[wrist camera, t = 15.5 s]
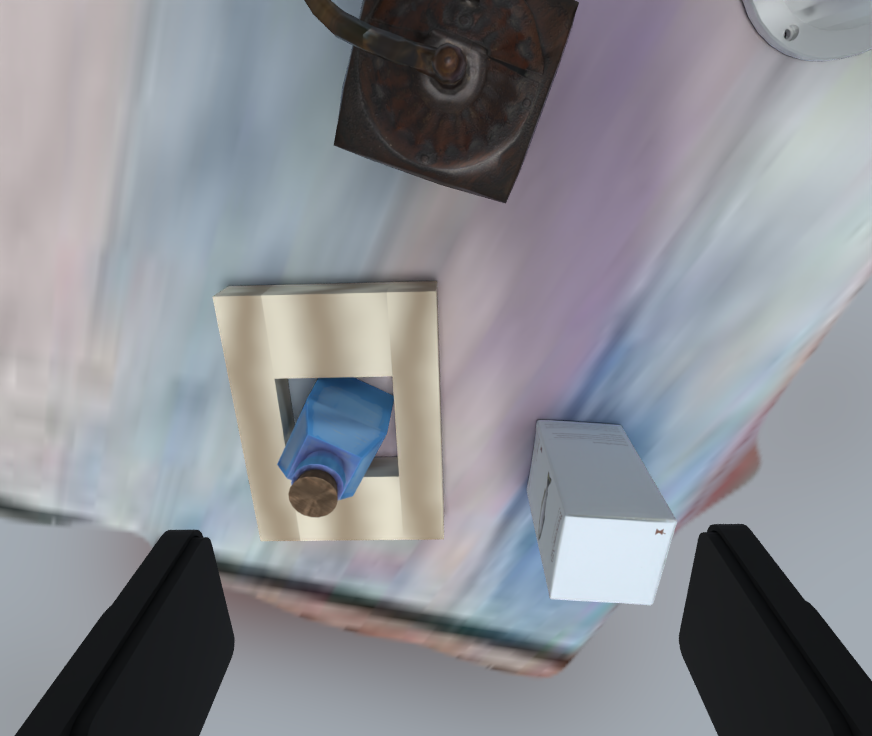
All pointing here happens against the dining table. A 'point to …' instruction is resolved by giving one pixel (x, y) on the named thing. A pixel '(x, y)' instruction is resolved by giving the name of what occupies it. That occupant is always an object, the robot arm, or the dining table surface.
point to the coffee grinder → (448, 84)
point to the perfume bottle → (334, 443)
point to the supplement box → (597, 514)
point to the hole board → (326, 358)
